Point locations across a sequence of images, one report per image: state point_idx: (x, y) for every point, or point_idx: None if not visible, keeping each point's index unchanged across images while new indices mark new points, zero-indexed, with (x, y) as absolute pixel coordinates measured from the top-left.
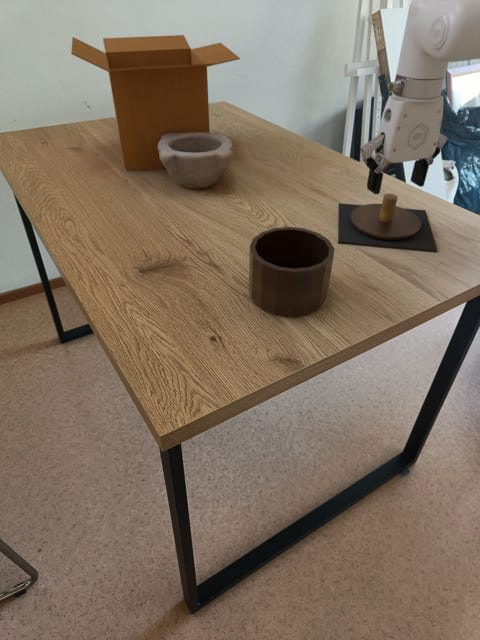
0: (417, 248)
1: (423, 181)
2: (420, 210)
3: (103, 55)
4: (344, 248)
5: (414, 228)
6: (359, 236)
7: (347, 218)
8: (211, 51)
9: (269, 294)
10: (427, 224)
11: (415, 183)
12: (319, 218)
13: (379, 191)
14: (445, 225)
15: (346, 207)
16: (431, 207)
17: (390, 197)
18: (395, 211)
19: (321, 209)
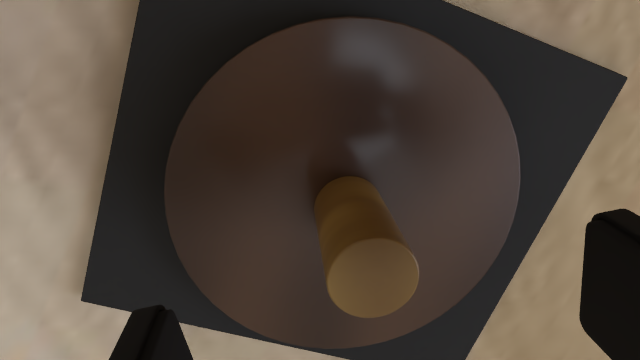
0: None
1: (135, 335)
2: (108, 300)
3: None
4: (615, 26)
5: (233, 92)
6: (512, 104)
7: None
8: None
9: None
10: (119, 170)
11: (189, 355)
12: (576, 287)
13: (606, 225)
14: (15, 167)
15: (439, 349)
16: (36, 332)
17: (383, 267)
18: (262, 274)
19: (530, 350)
